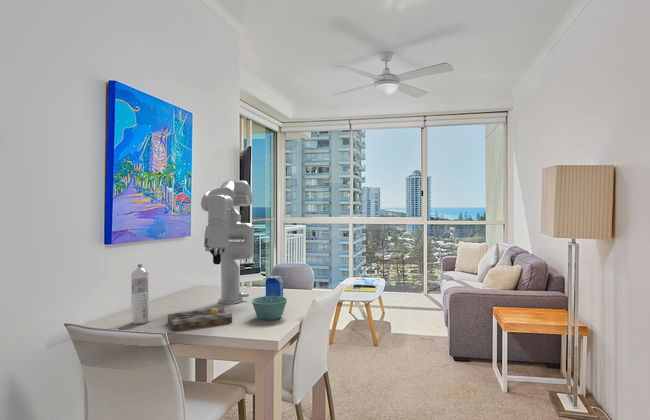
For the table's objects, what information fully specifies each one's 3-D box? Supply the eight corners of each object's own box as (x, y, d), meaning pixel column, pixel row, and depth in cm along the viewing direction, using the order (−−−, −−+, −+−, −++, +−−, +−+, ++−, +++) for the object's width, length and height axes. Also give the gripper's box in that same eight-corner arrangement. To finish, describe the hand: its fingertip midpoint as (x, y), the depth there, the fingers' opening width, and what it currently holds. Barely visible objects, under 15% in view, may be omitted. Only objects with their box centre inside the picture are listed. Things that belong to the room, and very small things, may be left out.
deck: (223, 316, 190) (223, 307, 190) (232, 322, 179) (232, 313, 179) (167, 323, 178) (167, 313, 178) (173, 330, 167) (173, 320, 167)
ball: (216, 314, 184) (216, 306, 184) (218, 315, 181) (218, 308, 181) (209, 315, 182) (209, 307, 182) (211, 316, 180) (211, 309, 180)
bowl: (272, 324, 177) (271, 304, 177) (244, 319, 185) (244, 300, 185) (294, 316, 190) (294, 298, 190) (267, 312, 198) (267, 294, 198)
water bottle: (134, 320, 183) (134, 263, 183) (150, 320, 184) (150, 263, 184) (128, 324, 176) (128, 265, 176) (145, 324, 177) (145, 265, 177)
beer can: (286, 308, 205) (286, 275, 205) (277, 312, 197) (277, 278, 197) (271, 306, 208) (271, 274, 208) (262, 310, 201) (262, 277, 201)
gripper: (227, 222, 194) (227, 262, 194) (197, 222, 184) (197, 264, 183) (236, 222, 188) (236, 263, 188) (205, 223, 178) (205, 266, 178)
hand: (216, 264), depth 186 cm, fingers closed
